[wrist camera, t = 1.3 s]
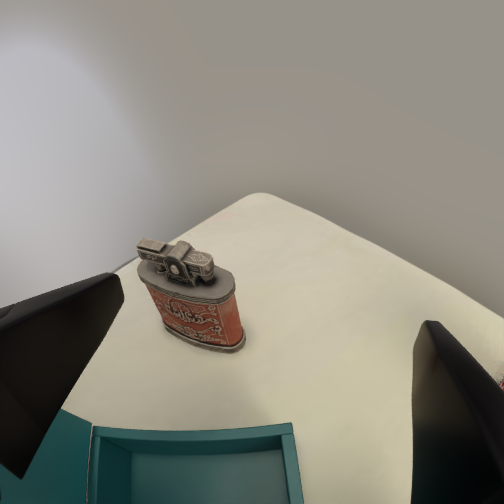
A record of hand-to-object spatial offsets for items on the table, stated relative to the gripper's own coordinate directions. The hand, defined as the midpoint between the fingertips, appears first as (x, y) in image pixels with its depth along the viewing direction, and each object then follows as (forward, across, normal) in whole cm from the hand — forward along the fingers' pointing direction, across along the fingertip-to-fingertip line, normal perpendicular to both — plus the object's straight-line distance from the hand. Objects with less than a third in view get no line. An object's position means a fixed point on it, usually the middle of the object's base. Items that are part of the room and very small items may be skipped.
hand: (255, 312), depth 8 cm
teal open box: (-4, +2, +18) cm, 18 cm away
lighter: (+12, +8, +13) cm, 20 cm away
